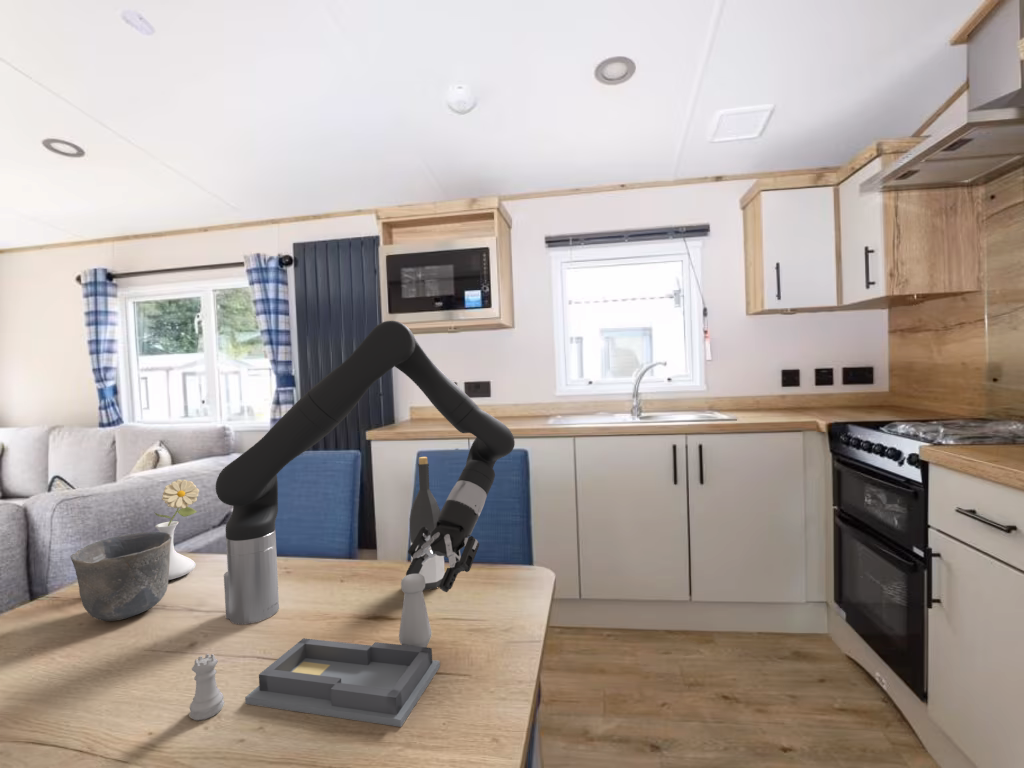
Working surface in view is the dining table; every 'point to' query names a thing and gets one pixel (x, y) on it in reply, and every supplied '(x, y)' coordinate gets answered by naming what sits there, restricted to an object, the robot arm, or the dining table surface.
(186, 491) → the flower in vase
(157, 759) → the dining table surface
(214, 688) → the rook chess piece
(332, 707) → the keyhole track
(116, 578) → the grey stone bowl
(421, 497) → the wine bottle
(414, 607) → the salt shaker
